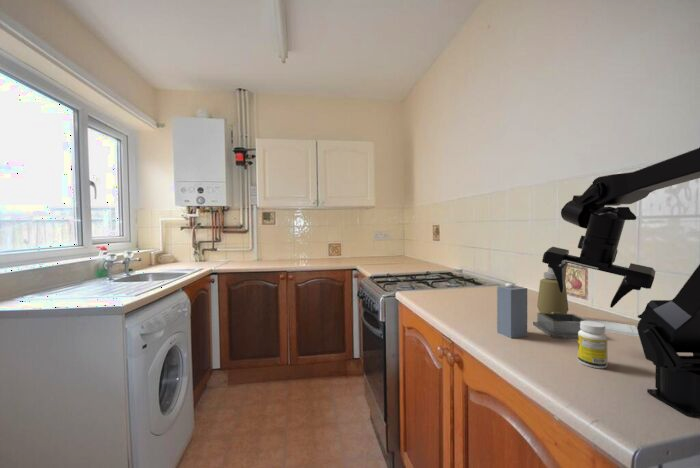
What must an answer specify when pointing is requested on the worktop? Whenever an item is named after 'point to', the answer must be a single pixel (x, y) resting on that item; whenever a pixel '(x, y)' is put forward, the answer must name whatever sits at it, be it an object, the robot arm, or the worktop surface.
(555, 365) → the worktop surface
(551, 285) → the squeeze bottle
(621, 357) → the worktop surface
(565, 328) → the pocket plate
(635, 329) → the hard drive
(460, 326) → the worktop surface
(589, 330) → the supplement bottle
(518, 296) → the grey tall block
